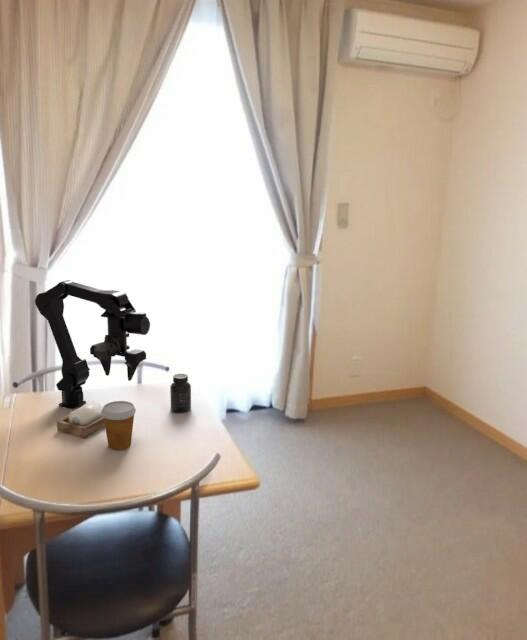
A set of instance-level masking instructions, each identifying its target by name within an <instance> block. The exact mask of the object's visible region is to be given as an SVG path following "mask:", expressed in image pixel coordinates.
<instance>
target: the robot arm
mask: <svg viewBox="0 0 527 640" xmlns="http://www.w3.org/2000/svg"><path fill="white" fill-rule="evenodd" d="M69 296H70V297H72V298H73V297H74V298H77V299H81V300H84V301H88V302H90V303H93V304H94V303H95V304H97V305H98V306H99V307H100V308H101V309H103V310H105V311H104V312H103V313H102V314H100V317H101V318H106V319H107V321H106V322H107V334H105V335H104V341H102V342H99V343H96V344H92V345H91V346H90V348H89V352H90V355H92V356H93V358H96V359H97V360H98V361H99V362H100V364H101V367H102V369H103V371H104V374H105V376H107V377H108V376H110V372H111V368H112V367H111V365H112V358H113V357H115V356H118V357H119V356H120V357H124V360H125V361H124V364H125V366H126V371H127V380H128V382H131V381H132V379H133V377H134V374H135V372H136V371H137V368H138V366H139V365H140V363H142V362H144V361H145V360H147V353H146V351H145V350H142V349H136V348H135V349H132V350H130V345H129V344H128V342H127V341H128V340H127V339H128V338H130V334H133V335H142V336H146V335H147V334H149V331H150V328H151V322H150V319H149V317H148V316H147V313H146V312H137V310H136V309H135V307H134V306H133V304H132V303H131V301H130V300H129V297H128V295H127V293H126V292H125V291H123V290H111V289H110V290H106V289H105V290H104V289H99V288H96V287H92V286H89V285H85V284H82V283H78V282H76V281H73V280H71V279H67V280H63V281H60V282H58V283H57V284H56V285H55V286H53V287H51V288H50V289H47V290H46V291H44V292H41V293H38V294H37V295H36V296H35V299H34V303H35V307H36V308H37V310H38V312H39V314H40V315H41V316H43V317H44V318H45V319H46V321H47V322H48V325H49V327H50V330H51V333H52V336H53V339H54V341H55V344H56V347H57V349H58V352H59V355H60V358H61V360H62V363H61V364H62V365H61V368H60V369H61V370H60V371H61V376H62V378H61V379H60V380H59V381H58V382H57V383H55V385H56V386H55V387H56V388H57V390H58V391H59V392H61V402H60V403H58V406H60V407H65V408H68V409H71V410H74V409H77V408H78V407H80V406H84V404H85V405H86V404H87V401H86V400H84V391H83V385H85V384H86V383H87V380H88V379H89V377H90V370H91V369H90V368H89V366H88V361H87V360H86V359H85V358H84V359H82V358H80V357H79V356H78V353H77V352H76V348H75V346H74V343H73V340H72V337H71V333H70V331H69V329H68V328H69V327H68V326H67V322H66V320H65V318H64V309H65V303H64V300H65V299H67V298H68V297H69ZM127 344H128V345H127ZM128 350H130V351H128Z"/></svg>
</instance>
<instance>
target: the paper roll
mask: <svg viewBox="0 0 527 640" xmlns="http://www.w3.org/2000/svg"><path fill="white" fill-rule="evenodd" d="M102 410H103V405H102V404H101V403H100V402H99V401H95V400H94V401H91V402H89V403H86V404H85V405H82V406H81V407H79V408H76V409H75V410H73V411H71V412H70V413H69V414H68V416H69V423H72V424H75V425H79V426H83V427H85V426H86V425H88V424H90V423H92V422H94V421H96V420H98V419H99V418H101V417H103V415H102V414H101V411H102Z"/></svg>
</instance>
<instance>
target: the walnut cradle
mask: <svg viewBox="0 0 527 640" xmlns="http://www.w3.org/2000/svg"><path fill="white" fill-rule="evenodd" d="M56 426H57V427H56V429H57V432H59V433H63V434H67V435H69V436H74V437H77V438H80V439H84V440H85V439H87V438H88V437H92V435H94V434H96V433H99V432H100V431H101V430H102V429H104V428H105V423H104V417H101V418H99V419H98V420H96V421H94V422H92V423H90V424H88V425H86V426H85V427H83V426H79V425H75V424H72V423H69V415H68V416H65V417H64V418H63V417H62V418H61V419H59V420H57V421H56Z"/></svg>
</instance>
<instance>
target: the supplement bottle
mask: <svg viewBox="0 0 527 640" xmlns="http://www.w3.org/2000/svg"><path fill="white" fill-rule="evenodd" d="M172 379H173V380H172V383H171V384H170V388H169V389H170V392H169V394H170V395H169V396H170V410H171V411H172V412H174V413H177V414H183V413H188V412H189V411H191V409H192V384H190V382H188V381H189V376H188V374H185V373H176V374H174V375H173V377H172Z"/></svg>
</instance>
